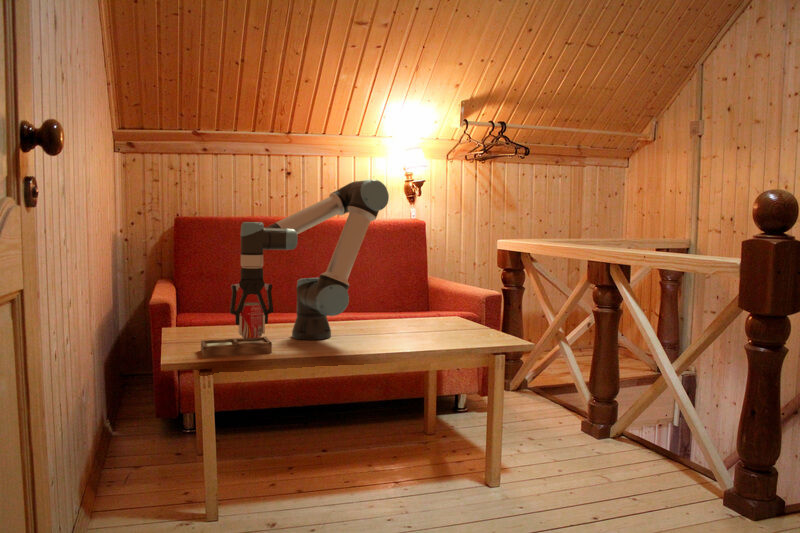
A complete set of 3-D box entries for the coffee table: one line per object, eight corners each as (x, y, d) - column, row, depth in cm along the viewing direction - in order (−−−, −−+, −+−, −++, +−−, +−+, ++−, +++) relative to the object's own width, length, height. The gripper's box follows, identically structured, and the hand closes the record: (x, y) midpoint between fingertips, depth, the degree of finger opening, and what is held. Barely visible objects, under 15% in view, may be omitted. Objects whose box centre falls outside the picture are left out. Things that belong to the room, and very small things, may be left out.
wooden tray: (265, 346, 202) (265, 336, 202) (271, 352, 192) (271, 342, 192) (200, 350, 193) (200, 340, 193) (203, 357, 183) (203, 346, 183)
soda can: (243, 336, 198) (243, 302, 197) (263, 336, 198) (263, 302, 197) (239, 340, 191) (239, 304, 190) (260, 340, 191) (260, 305, 190)
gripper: (278, 266, 200) (278, 330, 202) (220, 266, 192) (220, 333, 194) (283, 267, 193) (282, 334, 195) (222, 268, 185) (222, 337, 187)
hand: (251, 333), depth 194 cm, fingers closed on soda can, 7 cm apart
